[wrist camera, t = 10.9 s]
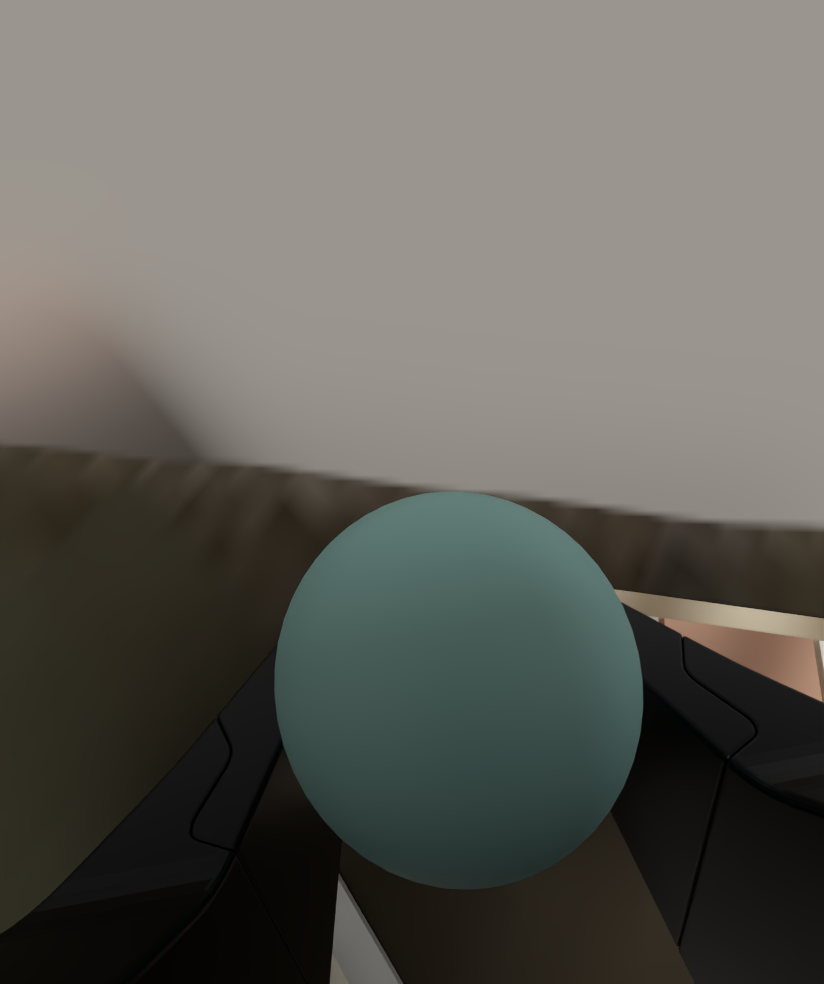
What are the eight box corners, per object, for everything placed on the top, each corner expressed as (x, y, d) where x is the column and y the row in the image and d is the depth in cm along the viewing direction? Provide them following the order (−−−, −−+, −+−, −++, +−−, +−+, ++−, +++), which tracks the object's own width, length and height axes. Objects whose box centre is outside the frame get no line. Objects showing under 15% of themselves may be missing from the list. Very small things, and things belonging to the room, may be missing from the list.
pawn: (528, 667, 15) (992, 718, 3) (427, 764, 14) (422, 1506, 2) (441, 566, 16) (484, 288, 4) (344, 648, 15) (11, 616, 3)
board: (932, 640, 16) (981, 638, 15) (984, 852, 14) (1047, 875, 12) (374, 561, 18) (370, 553, 16) (343, 741, 15) (334, 750, 14)
